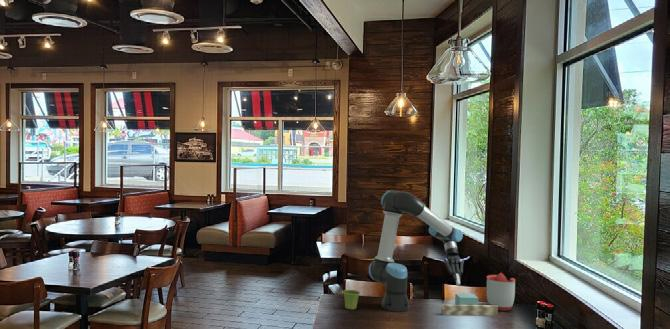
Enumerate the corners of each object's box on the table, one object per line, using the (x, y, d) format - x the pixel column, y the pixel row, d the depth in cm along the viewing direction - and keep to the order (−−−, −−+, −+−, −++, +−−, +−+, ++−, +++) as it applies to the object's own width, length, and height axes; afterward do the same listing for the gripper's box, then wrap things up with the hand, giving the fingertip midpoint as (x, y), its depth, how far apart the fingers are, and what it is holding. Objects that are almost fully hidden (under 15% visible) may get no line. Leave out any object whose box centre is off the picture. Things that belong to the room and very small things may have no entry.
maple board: (442, 315, 239) (442, 305, 239) (441, 313, 241) (441, 304, 241) (497, 315, 241) (497, 306, 241) (496, 314, 243) (496, 305, 243)
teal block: (459, 314, 242) (460, 297, 242) (454, 309, 250) (455, 293, 250) (477, 314, 242) (478, 297, 242) (472, 309, 250) (473, 293, 250)
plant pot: (352, 304, 252) (353, 289, 253) (362, 309, 244) (363, 293, 245) (339, 306, 247) (339, 291, 247) (348, 311, 239) (349, 295, 240)
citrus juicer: (521, 308, 255) (522, 273, 255) (505, 314, 244) (506, 277, 244) (496, 301, 267) (497, 268, 267) (480, 306, 256) (481, 271, 256)
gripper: (460, 254, 282) (468, 288, 265) (439, 253, 281) (446, 287, 264) (463, 247, 277) (471, 281, 260) (442, 246, 276) (449, 280, 259)
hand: (458, 284), depth 262 cm, fingers closed
